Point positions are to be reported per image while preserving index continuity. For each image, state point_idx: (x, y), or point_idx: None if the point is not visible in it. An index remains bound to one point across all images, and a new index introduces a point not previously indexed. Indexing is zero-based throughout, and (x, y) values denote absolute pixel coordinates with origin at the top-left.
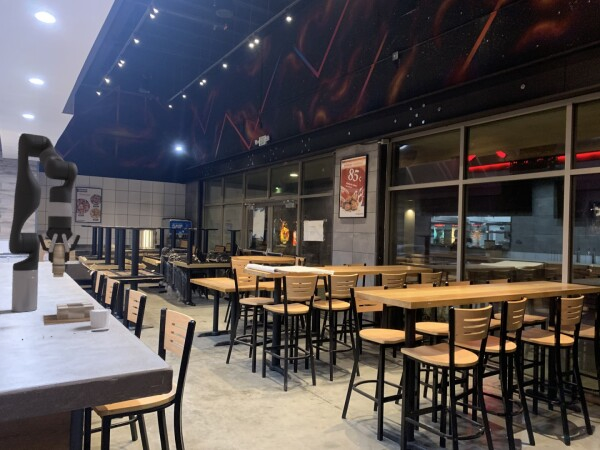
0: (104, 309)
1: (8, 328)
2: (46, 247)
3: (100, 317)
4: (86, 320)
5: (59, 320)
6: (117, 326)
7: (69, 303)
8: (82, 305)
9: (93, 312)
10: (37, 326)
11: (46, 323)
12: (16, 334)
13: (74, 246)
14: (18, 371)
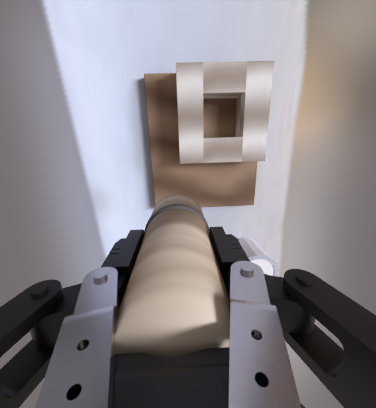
0: (267, 264)
1: (88, 163)
2: (57, 331)
3: None
4: (233, 194)
5: (182, 170)
6: (277, 232)
7: (211, 67)
8: (243, 96)
9: None
10: (141, 168)
11: (158, 193)
12: (115, 226)
13: (314, 351)
14: None
